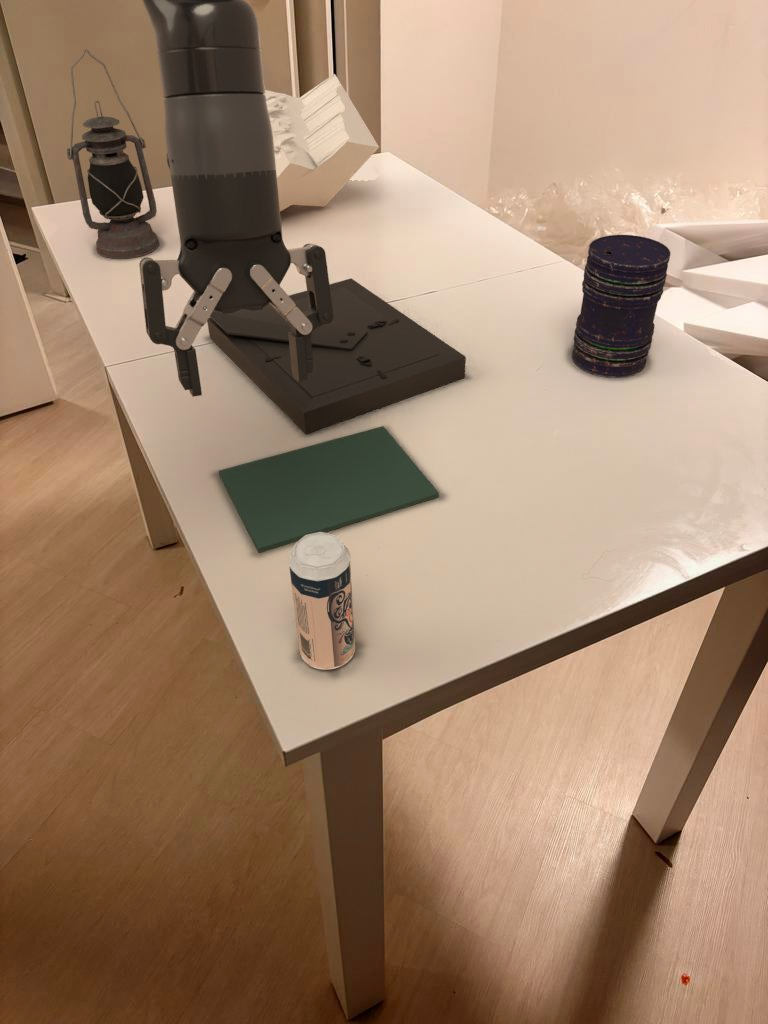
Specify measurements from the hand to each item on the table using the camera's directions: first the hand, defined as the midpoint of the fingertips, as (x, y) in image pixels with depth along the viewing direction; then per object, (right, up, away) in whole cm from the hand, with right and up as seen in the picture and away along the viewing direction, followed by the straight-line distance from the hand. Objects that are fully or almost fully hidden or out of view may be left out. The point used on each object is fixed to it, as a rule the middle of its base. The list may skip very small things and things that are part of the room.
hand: (249, 386), depth 65 cm
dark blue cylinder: (+41, +10, +43) cm, 60 cm away
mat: (+5, -7, +22) cm, 24 cm away
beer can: (+6, -22, +5) cm, 23 cm away
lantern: (-33, +36, +74) cm, 89 cm away
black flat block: (+4, +11, +44) cm, 45 cm away
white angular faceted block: (-17, +52, +85) cm, 101 cm away
